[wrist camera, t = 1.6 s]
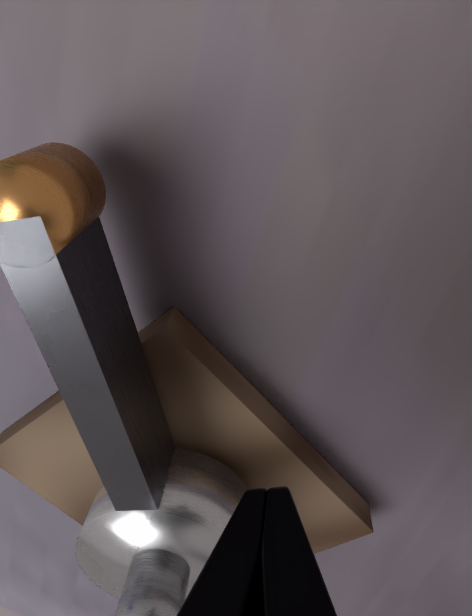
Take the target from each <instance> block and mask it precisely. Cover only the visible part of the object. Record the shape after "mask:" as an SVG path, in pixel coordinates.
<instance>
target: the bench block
mask: <svg viewBox="0 0 472 616" xmlns="http://www.w3.org/2000/svg"><path fill="white" fill-rule="evenodd" d="M138 335H139V338H140V341H141V344H142V347H143V350H144V353H145V356H146V359H147V362H148V365H149V368H150V371H151V374H152V377H153V380H154V383H155V386H156V389H157V392H158V395H159V398H160V401H161V404H162V407H163V410H164V413H165V416H166V419H167V422H168V425H169V428H170V431H171V434H172V437H173V440H174V443H175V448H181V449H186V450H191V451H194V452H198V453H201V454H204V455H206V456H209V457H211V458H213V459H215V460H217V461H219V462H221V463H222V464H224V465H226V466H227V467H228V468H230V469H231V470H232V471H234V472H235V473H236V474H237V475H238V476H239V477H240V478H241V479H242V481H243V482H244V483H245V485H246V486H247V488H248V489H254V488H266V489H267V490H268V489H269V488H271V487H284V486H286V487H288V488H289V490H290V492H291V495H292V497H293V500H294V503H295V505H296V508H297V511H298V513H299V516H300V519H301V521H302V524H303V527H304V529H305V532H306V535H307V537H308V540H309V543H310V545H311V548H312V551H313V553H314V554H315V553H318V552H321V551H323V550H326V549H329V548H331V547H334V546H337V545H340V544H342V543H345V542H348V541H351V540H353V539H356V538H359V537H362V536H364V535H367V534H370V533H373V526H372V521H371V515H370V510H369V504H368V503H367V502H366V501H365V500H364V499H363V498H362V497H361V496H360V495H359V494H358V493H357V492H356V491H355V490H354V489H353V488H352V487H351V486H350V485H349V484H348V482H347V481H346V480H345V479H344V478H343V477H342V476H341V475H340V474H339V473H338V472H337V471H336V470H335V469H334V468H333V467H332V466H331V465H330V464H329V463H328V462H327V461H326V460H325V459H324V458H323V457H322V456H321V455H320V454H319V453H318V452H317V451H316V450H315V449H314V448H313V447H312V446H311V445H310V444H309V443H308V442H307V441H306V440H305V439H304V438H303V437H302V436H301V435H300V434H299V433H298V432H297V431H296V430H295V429H294V428H293V427H292V426H291V425H290V423H289V422H288V421H287V420H286V419H285V418H284V417H283V416H282V415H281V414H280V413H279V412H278V411H277V410H276V409H275V408H274V407H273V406H272V405H271V404H270V403H269V402H268V401H267V400H266V399H265V398H264V397H263V396H262V395H261V394H260V393H259V392H258V391H257V390H256V389H255V388H254V387H253V386H252V385H251V384H250V383H249V382H248V381H247V380H246V379H245V378H244V377H243V376H242V375H241V374H240V373H239V372H238V371H237V370H236V369H235V368H234V367H233V366H232V365H231V363H230V362H229V361H228V360H227V359H226V358H225V357H224V356H223V355H222V354H221V353H220V352H219V351H218V350H217V349H216V348H215V347H214V346H213V345H212V344H211V343H210V342H209V341H208V340H207V339H206V338H205V337H204V336H203V335H202V334H201V333H200V332H199V331H198V330H197V329H196V328H195V327H194V326H193V325H192V324H191V323H190V322H189V321H188V320H187V319H186V318H185V317H184V316H183V315H182V314H181V313H180V312H179V311H178V310H177V309H176V308H175V307H172V308H171V309H170V310H168V311H167V312H166V313H164V314H163V315H162V316H160V317H159V318H157V319H156V320H155V321H153V322H152V323H151V324H149V325H148V326H146V327H145V328H144V329H142V330H141V331H140V332H138ZM0 467H1V468H2V469H4V470H5V471H7V472H8V473H9V474H11V475H12V476H14V477H15V478H16V479H18V480H19V481H21V482H22V483H23V484H25V485H26V486H28V487H29V488H30V489H32V490H33V491H35V492H36V493H37V494H39V495H40V496H42V497H43V498H45V499H46V500H47V501H49V502H50V503H52V504H53V505H54V506H56V507H57V508H59V509H60V510H61V511H63V512H64V513H66V514H67V515H68V516H70V517H71V518H73V519H74V520H75V521H77V522H78V523H80V524H81V525H83V524H84V522H85V519H86V517H87V515H88V512H89V510H90V508H91V505H92V503H93V501H94V498H95V496H96V494H97V491H98V489H99V487H100V484H101V482H102V481H101V479H100V476H99V474H98V472H97V470H96V468H95V466H94V464H93V461H92V459H91V457H90V455H89V453H88V451H87V449H86V447H85V444H84V442H83V440H82V438H81V436H80V434H79V432H78V429H77V427H76V425H75V423H74V421H73V419H72V417H71V415H70V412H69V410H68V408H67V406H66V404H65V402H64V400H63V397H62V395H61V393H60V391H58V392H56V393H55V394H54V395H52V396H51V397H49V398H48V399H47V400H45V401H44V402H43V403H41V404H40V405H39V406H37V407H36V408H34V409H33V410H32V411H30V412H29V413H28V414H26V415H25V416H24V417H22V418H21V419H19V420H18V421H17V422H15V423H14V424H13V425H11V426H10V427H9V428H7V429H6V430H4V431H3V432H2V433H1V434H0Z"/></svg>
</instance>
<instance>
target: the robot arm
mask: <svg viewBox="0 0 472 616" xmlns="http://www.w3.org/2000/svg"><path fill="white" fill-rule="evenodd" d="M177 616H337V615H336V612H335V609H334V607H333V604H332V601H331V599H330V596H329V593H328V591H327V588H326V585H325V583H324V580H323V577H322V575H321V572H320V569H319V567H318V564H317V561H316V559H315V556H314V553H313V551H312V548H311V545H310V543H309V540H308V537H307V535H306V532H305V529H304V527H303V524H302V521H301V519H300V516H299V513H298V511H297V508H296V505H295V503H294V500H293V497H292V495H291V492H290V490H289V488H288V487H286V486H284V487H271V488H269V489H268V490H267V489H266V488H254V489H248V490H246V491H245V493H244V494H243V496H242V498H241V500H240V502H239V503H238V505H237V507H236V509H235V511H234V513H233V514H232V516H231V518H230V520H229V522H228V523H227V525H226V527H225V529H224V531H223V532H222V534H221V536H220V538H219V540H218V541H217V543H216V545H215V547H214V549H213V550H212V552H211V554H210V556H209V558H208V560H207V561H206V563H205V565H204V567H203V569H202V570H201V572H200V574H199V576H198V578H197V579H196V581H195V583H194V585H193V587H192V588H191V590H190V592H189V594H188V596H187V598H186V599H185V601H184V603H183V605H182V607H181V608H180V610H179V612H178V614H177Z"/></svg>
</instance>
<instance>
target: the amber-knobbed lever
mask: <svg viewBox="0 0 472 616" xmlns="http://www.w3.org/2000/svg"><path fill="white" fill-rule="evenodd" d="M105 200H106V190H105V185H104V181H103V178H102V176H101V174H100V172H99V170H98V168H97V167H96V165H95V164H94V163H93V162H92V160H91V159H90V158H89V157H88V156H87V155H85V154H84V153H83V152H81V151H80V150H78V149H76V148H74V147H72V146H70V145H67V144H63V143H54V142H53V143H46V144H42V145H39V146H37V147H34V148H32V149H29V150H27V151H24V152H22V153H19V154H16V155H14V156H11V157H9V158H6V159H4V160H1V161H0V265H1V267H2V270H3V272H4V274H5V276H6V278H7V280H8V282H9V284H10V287H11V289H12V291H13V293H14V295H15V297H16V299H17V301H18V304H19V306H20V308H21V310H22V312H23V314H24V316H25V319H26V321H27V323H28V325H29V327H30V329H31V331H32V333H33V336H34V338H35V340H36V342H37V344H38V346H39V348H40V351H41V353H42V355H43V357H44V359H45V361H46V363H47V365H48V368H49V370H50V372H51V374H52V376H53V378H54V380H55V383H56V385H57V387H58V389H59V391H60V393H61V395H62V397H63V400H64V402H65V404H66V406H67V408H68V410H69V412H70V415H71V417H72V419H73V421H74V423H75V425H76V427H77V429H78V432H79V434H80V436H81V438H82V440H83V442H84V444H85V447H86V449H87V451H88V453H89V455H90V457H91V459H92V461H93V464H94V466H95V468H96V470H97V472H98V474H99V476H100V479H101V481H102V482H101V484H100V487H99V489H98V491H97V494H96V496H95V498H94V501H93V503H92V505H91V508H90V510H89V512H88V515H87V517H86V519H85V522H84V524H83V526H82V529H81V531H80V533H79V535H78V538H77V540H76V545H75V554H76V558H77V561H78V563H79V565H80V567H81V569H82V570H83V572H84V573H85V574H86V575H87V577H88V578H89V579H90V580H91V581H92V582H94V583H95V584H96V585H97V586H98V587H100V588H101V589H103V590H104V591H106V592H107V593H109V594H110V595H112V596H114V597H116V598H118V599H119V603H118V606H117V609H116V613H115V616H177V614H178V612H179V610H180V608H181V607H182V605H183V603H184V601H185V599H186V598H187V596H188V594H189V592H190V590H191V588H192V587H193V585H194V583H195V581H196V579H197V578H198V576H199V574H200V572H201V570H202V569H203V567H204V565H205V563H206V561H207V560H208V558H209V556H210V554H211V552H212V550H213V549H214V547H215V545H216V543H217V541H218V540H219V538H220V536H221V534H222V532H223V531H224V529H225V527H226V525H227V523H228V522H229V520H230V518H231V516H232V514H233V513H234V511H235V509H236V507H237V505H238V503H239V502H240V500H241V498H242V496H243V494H244V493H245V491H246V490H248V488H247V486H246V485H245V483H244V482H243V481H242V479H241V478H240V477H239V476H238V475H237V474H236V473H235V472H234V471H232V470H231V469H230V468H228V467H227V466H226V465H224V464H222V463H221V462H219V461H217V460H215V459H213V458H211V457H209V456H206V455H204V454H201V453H198V452H194V451H191V450H186V449H181V448H175V443H174V440H173V437H172V434H171V431H170V428H169V425H168V422H167V419H166V416H165V413H164V410H163V407H162V404H161V401H160V398H159V395H158V392H157V389H156V386H155V383H154V380H153V377H152V374H151V371H150V368H149V365H148V362H147V359H146V356H145V353H144V350H143V347H142V344H141V341H140V338H139V335H138V332H137V329H136V326H135V323H134V320H133V317H132V314H131V311H130V308H129V305H128V302H127V299H126V296H125V293H124V290H123V287H122V284H121V281H120V278H119V275H118V272H117V269H116V266H115V263H114V260H113V257H112V254H111V251H110V248H109V245H108V242H107V239H106V236H105V233H104V230H103V227H102V224H101V221H100V218H99V216H100V214H101V213H102V211H103V209H104V205H105Z"/></svg>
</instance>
